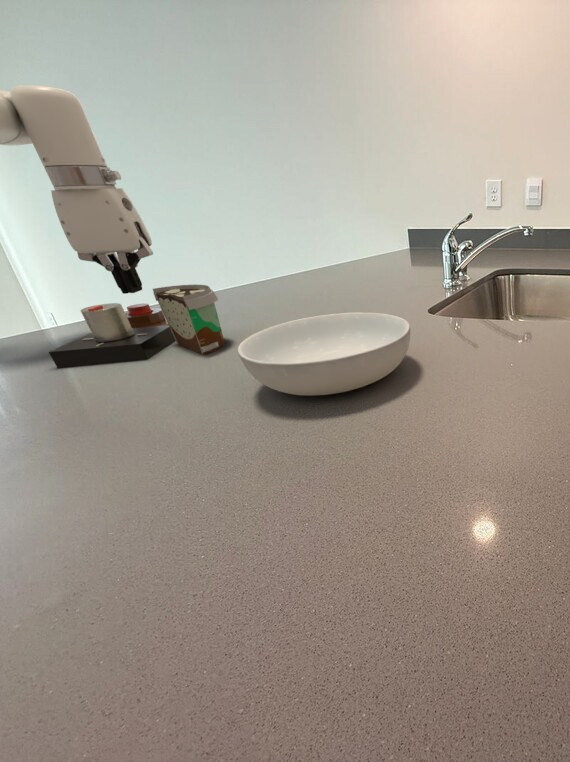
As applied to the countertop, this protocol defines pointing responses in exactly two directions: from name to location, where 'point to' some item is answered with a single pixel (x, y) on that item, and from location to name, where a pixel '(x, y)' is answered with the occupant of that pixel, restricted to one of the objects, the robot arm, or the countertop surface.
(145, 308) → the button
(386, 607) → the countertop surface
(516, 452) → the countertop surface
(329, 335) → the serving bowl
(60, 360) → the stove panel
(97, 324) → the stove knob
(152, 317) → the igniter
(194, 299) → the food container
